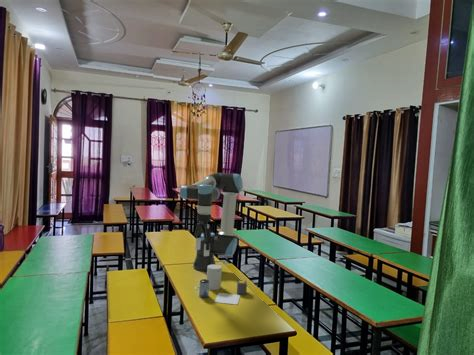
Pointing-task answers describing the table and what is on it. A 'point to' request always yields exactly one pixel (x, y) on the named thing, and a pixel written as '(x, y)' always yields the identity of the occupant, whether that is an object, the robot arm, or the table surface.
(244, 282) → the relay block
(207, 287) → the cylinder
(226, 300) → the mat
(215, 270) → the cup
